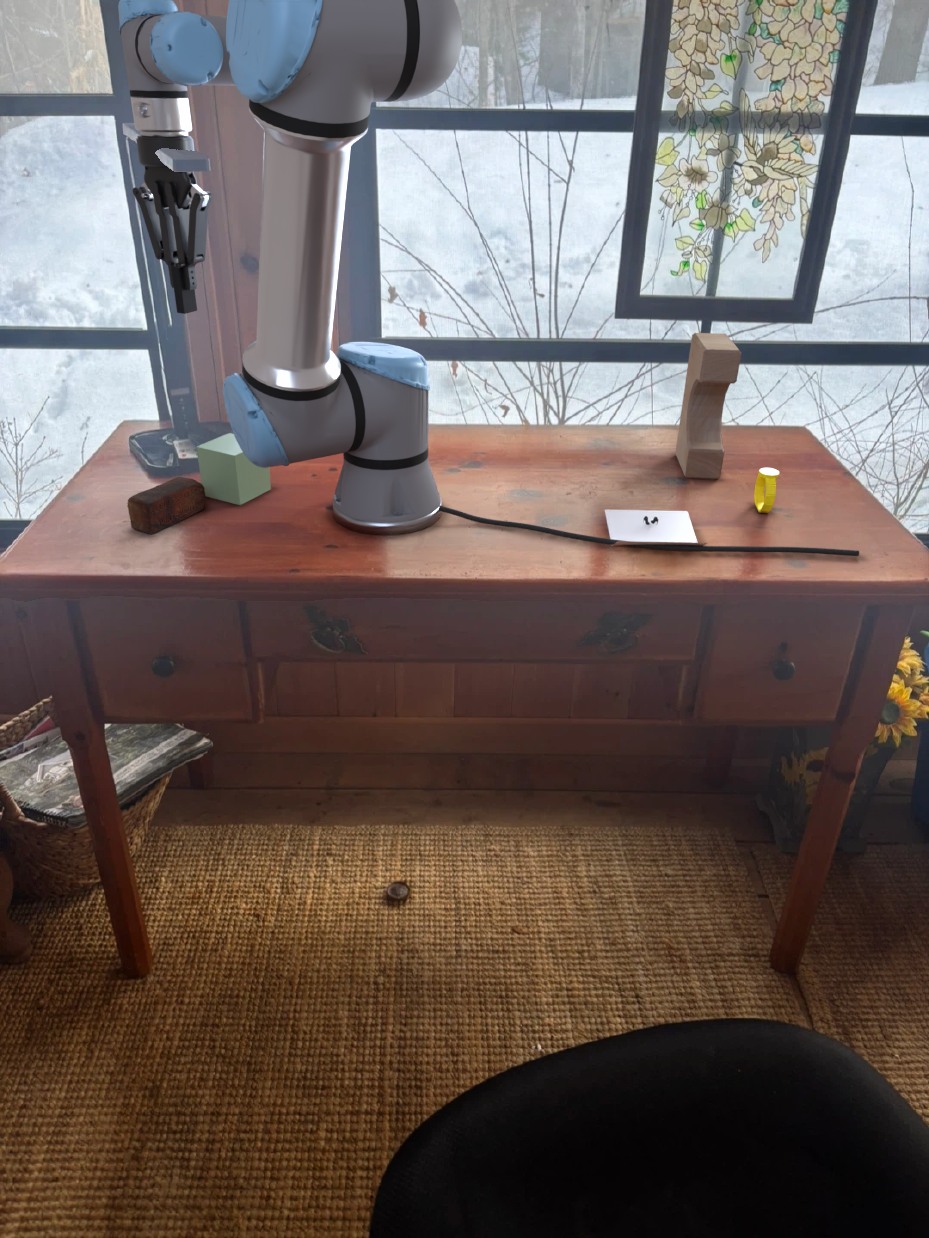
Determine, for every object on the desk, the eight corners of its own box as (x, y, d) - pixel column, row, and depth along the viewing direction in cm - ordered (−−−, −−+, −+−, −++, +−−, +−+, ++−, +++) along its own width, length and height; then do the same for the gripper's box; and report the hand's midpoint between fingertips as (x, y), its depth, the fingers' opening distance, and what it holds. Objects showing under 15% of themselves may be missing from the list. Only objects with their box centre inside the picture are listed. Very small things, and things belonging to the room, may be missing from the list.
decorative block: (720, 480, 143) (742, 351, 132) (683, 479, 143) (702, 349, 133) (709, 455, 152) (729, 333, 142) (674, 454, 152) (692, 332, 142)
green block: (271, 489, 136) (266, 441, 132) (240, 505, 131) (234, 455, 127) (234, 480, 139) (229, 432, 135) (202, 495, 133) (196, 446, 130)
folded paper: (686, 518, 130) (688, 505, 129) (706, 556, 119) (708, 542, 118) (602, 516, 130) (603, 503, 129) (614, 554, 119) (616, 541, 118)
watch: (747, 500, 136) (754, 462, 133) (765, 501, 136) (773, 463, 133) (756, 517, 131) (764, 478, 128) (776, 518, 131) (784, 478, 128)
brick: (153, 536, 121) (147, 504, 119) (131, 530, 123) (125, 497, 120) (208, 509, 129) (204, 478, 127) (186, 503, 131) (182, 472, 129)
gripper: (108, 132, 125) (136, 311, 137) (180, 137, 120) (203, 321, 131) (148, 131, 130) (172, 302, 142) (219, 135, 125) (237, 312, 137)
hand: (187, 311), depth 137 cm, fingers closed
